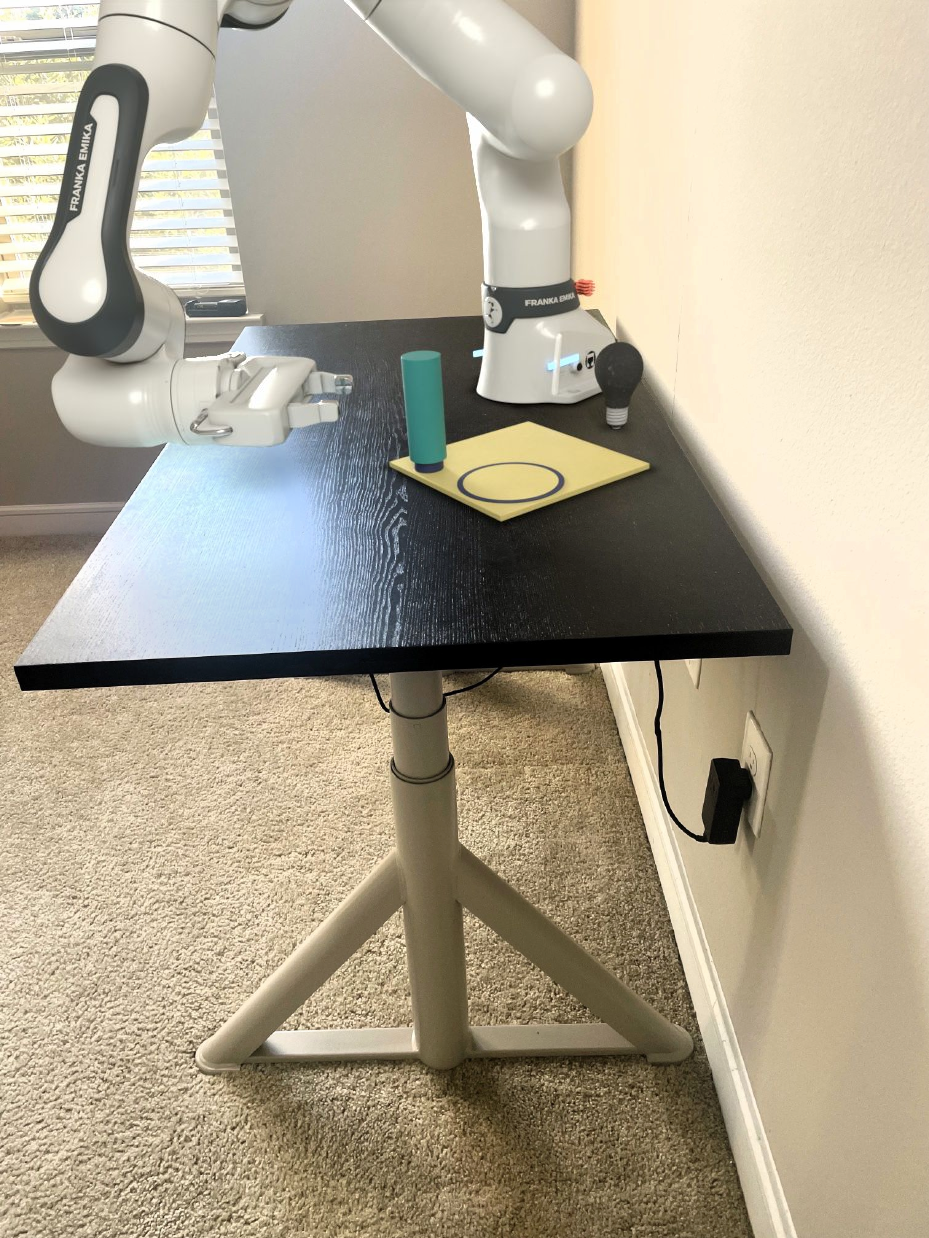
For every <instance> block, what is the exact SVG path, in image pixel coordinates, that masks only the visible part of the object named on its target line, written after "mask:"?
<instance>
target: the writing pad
mask: <svg viewBox="0 0 929 1238" xmlns="http://www.w3.org/2000/svg"><path fill="white" fill-rule="evenodd" d="M446 450H447V457H446V459H445V460H443V461H444V468H443V469H442V470H441V471H438V472H435V473H419V472H417V471H415V469H414V462H412V461H411V460H410V457H409V455H408V456H405V457H401V458H397V459H394V460H391V461H389V462H388V463H389V467H390V468H392V469H394V470H396V471H397V472H399V473H402V474H403V475H406V476H408V477H409V478H412V479H414V480H416V481H418V482H420V483H422V484H424V485H426V486H428V487H430V488H432V489H434V490H437V491H438V492H440V493H442V494H444V495H447V496H448V497H451V498H453V499H455V500H457V501H459V502H461V503H462V504H465V505H467V506H469V507H471V508H473V509H475V510H477V511H479V512H481V513H483V514H485V515H486V516H489V517H490V518H492V519H495V520H497V521H500V522H504V521H506V520H507V521H508V520H509V519H511V518H515V517H517V516H521V515H523V514H526V513H529V512H532V511H534V510H537V509H538V510H539V509H540V508H543V507H546V506H549V505H551V504H554V503H557V502H560V501H563V500H566V499H568V498H571V497H574V496H576V495H579V494H583V493H585V492H588V491H590V490H594V489H596V488H599V487H601V486H605V485H607V484H610V483H613V482H615V481H619V480H622V479H624V478H627V477H629V476H633V475H636V474H639V473H641V472H643V471H646V470H649V469H650V463H649V462H646V461H643V460H640V459H637V458H635V457H632V456H629V455H626V454H623V453H621V452H619V451H614V450H611V449H609V448H606V447H604V446H601V445H598V444H594V443H591V442H589V441H586V440H583V439H580V438H577V437H574V436H571V435H568V434H567V433H563V432H560V431H557V430H554V429H551V428H549V427H547V426H546V427H545V426H543V425H540V424H537V423H534V422H532V421H525V422H521V423H518V424H515V425H511V426H507V427H505V428H501V429H498V430H493V431H490V432H487V433H484V434H480V435H475V436H473V437H470V438H469V437H468V438H467V439H463V440H459V441H456V442H452V443H449V444H446Z"/></svg>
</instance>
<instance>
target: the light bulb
mask: <svg viewBox="0 0 929 1238" xmlns="http://www.w3.org/2000/svg"><path fill="white" fill-rule="evenodd" d="M643 359H644V358H643V356H642V355H641V352H640V351H639V350H638V348H637V347H635V346H634V345H632V343H628V342H625V341H618V342H615V343H612V344H609V345H608V346H606V347H605V348H604V349H602V351H601V352H600V353H599V355H598V356H597V359H596V361H595V368H594V372H595V377H596V380H597V383H598V385H599V387H600V388H601V390H602V392H601V393H602V394H603V398H604V404H605V408H606V412H605V413H606V414H605V416H606V417H605V420H606V423H607V424H608V425H610V426H611V428H612V429H615V430H618V429H621V428H622V426H624V425H625V424H626V423H628V413H629V410H628V409H629V406H630V404H631V399H632V396H633V394H634V392H635V390H636V389H637V387H638V386H639V384H640V382H641V379H642V377H643V373H644V360H643Z"/></svg>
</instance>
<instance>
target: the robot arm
mask: <svg viewBox="0 0 929 1238" xmlns="http://www.w3.org/2000/svg"><path fill="white" fill-rule="evenodd" d="M294 1H295V0H100V1H99V9H98V17H97V28H96V38H95V46H94V52H93V59H92V64H91V69H90V73H89V75H88V76H87V77H86V79H85V81H84V83H83V85H82V87H81V90H80V93H79V96H78V98H77V99H78V100H77V103H76V107H75V111H74V116H73V120H72V126H71V131H70V135H69V139H68V146H67V151H66V157H65V163H64V167H63V168H64V169H63V172H62V173H63V174H62V179H61V184H60V190H59V195H58V199H57V206H56V211H55V216H54V221H53V224H52V227H51V230H50V233H49V234H48V237H47V239H46V242H45V243H44V246H43V247H42V249H41V251H40V253H39V254H38V257H37V259H36V261H35V263H34V266H33V268H32V271H31V273H30V279H29V283H28V298H29V305H30V309H31V313H32V315H33V317H34V321H35V322H36V324H37V325H38V327H39V329H40V330H41V332H42V333H43V335H44V336H45V337H46V338H47V339H48V340H49V341H50V342H51V343H52V344H54V345H55V346H56V347H57V348H59V349H61V350H63V351H64V352H66V353H68V354H69V355H68V357H67V358H66V360H65V362H64V364H63V365H62V367H61V368H60V369H59V370H58V371H57V372H56V373H55V374H54V376H53V377H52V379H51V400H52V403H53V407H54V409H55V412H56V415H57V417H58V418H59V420H60V422H61V423H62V426H64V428H65V429H66V430H67V432H69V434H71V435H72V436H73V437H74V438H76V439H77V440H79V441H81V442H83V443H86V444H89V445H93V446H99V447H107V448H108V447H109V448H152V447H156V446H159V445H163V444H168V443H171V444H172V443H174V444H179V445H182V446H190V447H193V446H217V445H218V446H225V447H239V448H240V447H242V448H269V447H270V448H271V447H275V446H280V445H282V444H284V443H285V442H287V439H288V438H289V436H290V434H291V433H292V431H293V430H294V429H302V428H306V427H311V426H315V425H317V424H320V423H335V422H337V421H338V419H339V417H340V415H341V409H340V403H339V401H338V400H336V399H321V400H320V401H319V402H312V400H313V399H314V397H315V395H323V394H324V393H328V394H329V393H330V394H335V395H336V396H340V395H342V396H343V395H350V394H351V393H352V392H353V391H354V388H355V384H354V377H353V376H352V375H351V374H336V373H331V372H326V371H318V368H317V362H316V361H315V360H314V359H311V358H308V357H304V356H288V355H287V356H286V355H285V356H284V355H283V356H282V355H256V356H249V357H247V353H246V352H244V351H229V352H225V353H223V354H220V355H217V356H216V355H215V356H206V357H205V356H203V357H196V358H185V350H186V349H185V348H186V336H187V335H186V334H187V333H186V331H187V319H186V312H185V310H184V306H183V304H182V302H181V299H180V298H179V296H178V295H177V294H176V292H175V290H174V289H172V288H171V287H170V286H169V285H168V284H166V283H165V282H164V281H162V280H161V279H159V278H158V277H156V276H154V275H153V274H151V273H149V272H148V271H146V270H144V269H142V268H140V267H137V266H136V263H135V261H134V259H133V256H132V253H131V247H130V244H131V243H130V242H131V241H130V239H131V231H132V227H133V222H134V215H135V209H136V205H137V204H136V203H137V198H138V193H139V187H140V183H141V178H142V177H141V176H142V171H143V167H144V165H145V162H146V159H147V158H148V156H149V154H150V152H152V150H153V149H155V148H157V147H168V146H174V145H179V144H181V143H183V142H185V141H187V140H189V139H190V138H192V137H193V136H195V135H196V134H197V133H198V132H199V131H200V130H201V129H202V128H203V125H204V124H205V123H204V122H205V120H206V117H207V114H208V111H209V107H210V103H211V100H212V95H213V89H214V82H215V75H216V74H215V73H216V65H217V64H216V63H217V55H218V54H217V53H218V40H219V39H218V38H219V32H220V29H232V30H234V31H240V32H259V31H264V30H266V29H268V28H270V27H272V26H273V25H275V24H277V23H278V22H279V21H281V19H282V18H283V17H284V16H285V15H286V14H287V12H288V10H289V8H290V6H291V5H292V4H293V3H294ZM344 2H346V4H347V5H349V7H350V8H351V9H352V10H353V11H354V12H355V13H356V14H357V15H358V16H359V17H360V18H361V19H362V20H363V21H364V22H365V23H366V24H367V25H368V26H369V27H370V28H371V29H372V30H373V31H374V32H375V33H376V34H377V35H378V36H379V37H381V39H382V40H383V41H384V42H385V43H386V44H387V45H388V46H390V47H391V49H393V51H395V53H396V54H398V55H399V56H400V57H401V59H403V60H404V61H405V62H406V63H407V64H408V65H409V66H410V67H411V69H413V70H414V71H415V72H416V73H417V74H418V75H419V76H420V77H422V78H423V79H424V80H426V81H428V82H429V83H430V84H431V85H433V86H434V87H435V88H437V89H438V90H439V91H441V93H443V94H444V96H446V97H448V98H449V99H450V100H451V101H453V102H454V103H455V104H456V105H458V107H460V108H461V109H462V110H463V111H464V112H465V113H466V120H467V124H468V128H469V135H470V144H471V152H472V160H473V168H474V174H475V180H476V186H477V193H478V197H479V204H480V213H481V223H482V225H481V226H482V247H483V270H484V271H483V273H484V275H483V276H484V280H483V282H482V283H481V311H482V317H483V318H482V319H483V324H484V341H483V349H478V350H474V351H472V354H473V355H472V356H473V358H477V357H482V360H481V368H480V374H479V378H478V382H477V387H476V393H477V394H478V395H479V396H481V397H483V398H485V399H488V400H492V401H496V402H501V403H502V402H503V403H511V404H540V403H552V404H574V403H578V402H581V401H583V400H585V399H588V398H590V397H592V396H594V395H597V394H599V393H603V392H602V390H601V388H600V387H599V385H598V383H597V380H596V377H595V372H594V368H595V361H596V359H597V356H598V355H599V353H600V352H601V351H602V349H604V348H605V347H606V346H608V345H609V344H612V343H615V342H619V339H618V338H615V337H614V334H613V333H612V331H611V330H610V329H608V328H607V327H606V326H604V325H603V324H602V323H601V322H599V321H598V320H597V319H596V318H594V317H593V316H592V315H591V314H590V313H589V312H588V311H586V310H585V309H584V308H583V307H581V301H580V298H579V296H585V297H592V296H593V295H594V292H595V288H596V286H595V285H596V284H595V283H594V280H593V279H584V278H580V279H578V280H577V281H575V280H574V279H573V278H571V224H572V223H571V218H572V217H571V210H570V205H569V202H568V200H567V197H566V194H565V188H564V184H563V178H562V171H561V164H560V156H561V155H563V154H565V153H566V152H568V151H569V150H570V149H572V148H573V147H575V145H576V144H578V143H579V142H580V140H582V138H583V136H585V133H586V132H587V130H588V128H589V126H590V123H591V120H592V117H593V112H594V102H595V101H594V91H593V86H592V83H591V80H590V78H589V75H588V74H587V72H586V70H585V69H584V67H582V66H581V64H579V63H578V62H577V61H576V60H575V59H574V58H572V57H571V56H569V55H568V54H567V53H565V52H564V51H562V50H561V49H560V48H559V47H558V46H556V45H555V44H554V43H553V41H551V40H550V39H549V38H547V36H546V35H545V34H543V33H542V32H541V31H540V30H538V28H536V26H534V25H533V24H532V23H531V22H530V21H528V20H527V19H526V18H525V17H524V16H522V15H521V14H520V12H518V11H516V10H515V9H514V8H513V7H512V6H511V5H509V4H508V3H506V1H504V0H344Z"/></svg>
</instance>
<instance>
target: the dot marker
mask: <svg viewBox="0 0 929 1238" xmlns="http://www.w3.org/2000/svg"><path fill="white" fill-rule="evenodd" d="M400 362H401V363H400V364H401V377H402V385H403V388H402V389H403V400H404V409H405V410H404V411H405V420H406V421H405V422H406V432H407V444H408V456H409V457H410V460H411V461H412V462H414V469H415V471H417V472H419V473H435V472H438V471H441V470H442V469H443V468H444V461H443V460H445V459H446V457H447V450H446V445H447V437H446V421H445V406H444V405H445V404H444V389H443V375H442V359H441V353H440V352H438V351H434V350H415V351H409V352H406V353H403V354H402V355H401V356H400Z"/></svg>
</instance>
